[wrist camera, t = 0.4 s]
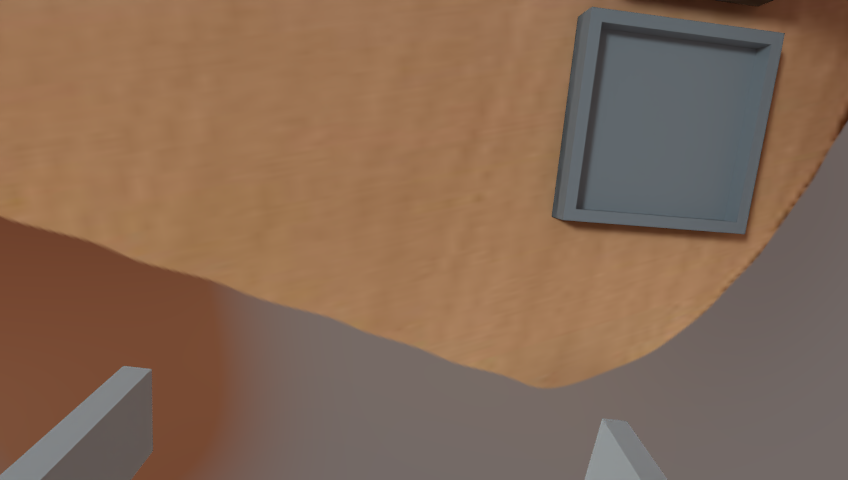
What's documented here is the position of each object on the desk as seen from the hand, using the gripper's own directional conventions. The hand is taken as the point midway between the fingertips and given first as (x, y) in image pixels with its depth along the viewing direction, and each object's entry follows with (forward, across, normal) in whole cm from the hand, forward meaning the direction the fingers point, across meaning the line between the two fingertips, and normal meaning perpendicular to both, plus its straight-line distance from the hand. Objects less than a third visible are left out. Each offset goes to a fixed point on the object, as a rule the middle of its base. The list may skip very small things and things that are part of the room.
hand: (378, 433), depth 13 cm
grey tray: (+30, +22, +11) cm, 39 cm away
